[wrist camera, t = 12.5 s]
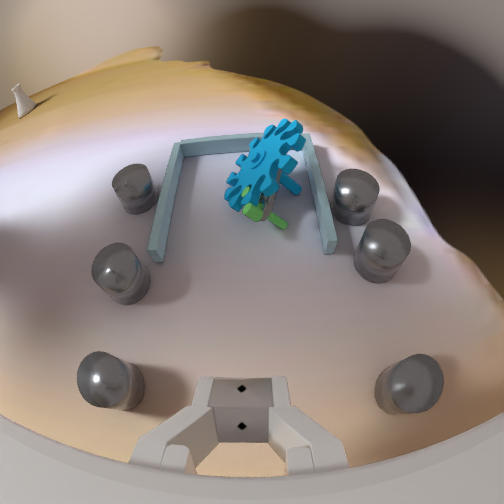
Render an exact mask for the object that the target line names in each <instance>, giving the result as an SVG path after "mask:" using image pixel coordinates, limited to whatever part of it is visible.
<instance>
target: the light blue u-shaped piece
mask: <svg viewBox="0 0 504 504" xmlns="http://www.w3.org/2000/svg"><path fill="white" fill-rule="evenodd" d="M263 135H264V133H250V134H236V135H223V136H213V137H203V138H195V139H187V140H181V142H178V143H174V146H173V149H172V152H171V156H170V159H169V163H168V166H167V170H166V173H165V177H164V181H163V184H162V188H161V192H160V196H159V200H158V204H157V208H156V212H155V217H154V221H153V226H152V230H151V235H150V239H149V244H148V249H147V251H148V252H149V254H150V255H151V257H152V258H153V260H154V261H155V262H163V261H164V255H165V249H166V243H167V237H168V231H169V226H170V220H171V215H172V210H173V205H174V200H175V195H176V190H177V185H178V181H179V176H180V172H181V167H182V163H183V159H184V157H189V156H198V155H207V154H218V153H230V152H244V151H250V147H249V144H250V142H251V141H252V140H254V139H255V138H256V137H258V138H259V139H260V140H261V139H262V137H263ZM301 135H302V136H303V137H304V138H305V139H306V142H305V145H304V147H303V148H302V150H303V154H304V159H305V163H306V167H307V171H308V176H309V180H310V184H311V189H312V194H313V198H314V203H315V208H316V213H317V218H318V223H319V228H320V233H321V238H322V244H323V249H324V254H333V253H334V250H335V247H336V244H337V241H338V240H337V235H336V231H335V226H334V222H333V218H332V214H331V210H330V205H329V201H328V197H327V194H326V190H325V186H324V182H323V178H322V175H321V171H320V167H319V164H318V160H317V157H316V153H315V150H314V147H313V143H312V140H311V137H310V134H303V133H301ZM292 149H293V148H292Z"/></svg>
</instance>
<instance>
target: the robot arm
mask: <svg viewBox="0 0 504 504" xmlns="http://www.w3.org/2000/svg"><path fill="white" fill-rule="evenodd" d="M218 442H228V443H237V442H246V443H268V444H269V445H270V446H271V447H272V449H273V450H274V451H275V452H276V453H277V454H278V456H279V457H280V458H281V459H282V460H283V461H284V462H285V472H284V476H277V477H222V476H206V475H197V472H196V469H195V468H196V467H197V466H198V465H199V464H200V463H201V462H202V461H203V460H204V459H205V458H206V457H207V456H208V454H209V453H210V452H211V451H212V450H213V449H214V448H215V447H216V446H217V445H218V444H219V443H218ZM0 504H504V412H502V413H500V414H499V415H497V416H495V417H493V418H491V419H489V420H488V421H486V422H484V423H482V424H480V425H478V426H476V427H474V428H472V429H469V430H467V431H465V432H463V433H461V434H458V435H456V436H454V437H451V438H449V439H446V440H444V441H441V442H439V443H436V444H434V445H431V446H428V447H425V448H423V449H420V450H417V451H414V452H411V453H407V454H404V455H401V456H397V457H394V458H390V459H387V460H383V461H379V462H375V463H370V464H366V465H361V466H357V467H352V468H350V467H349V464H348V461H347V457H346V454H345V451H344V447H343V444H342V441H341V440H340V439H338V438H337V437H335V436H334V435H333V434H331V433H330V432H329V431H327V430H326V429H325V428H323V427H322V426H321V425H319V424H318V423H317V422H315V421H314V420H313V419H311V418H310V417H309V416H307V415H306V414H305V413H304V412H302V411H301V410H300V409H298V408H297V407H296V406H291V402H290V396H289V390H288V383H287V377H286V376H280V377H271V378H223V377H215V378H214V377H200V378H199V380H198V384H197V387H196V391H195V394H194V398H193V402H192V405H191V406H186V407H185V408H183V409H182V410H180V411H179V412H177V413H176V414H175V415H173V416H172V417H170V418H169V419H167V420H166V421H164V422H163V423H161V424H160V425H158V426H157V427H155V428H154V429H152V430H151V431H149V432H148V433H146V434H144V435H143V436H141V437H140V438H139V439H138V441H137V444H136V446H135V448H134V451H133V453H132V456H131V458H130V460H129V463H124V462H120V461H116V460H113V459H109V458H105V457H102V456H98V455H95V454H92V453H89V452H86V451H83V450H80V449H77V448H74V447H71V446H68V445H66V444H63V443H60V442H58V441H55V440H53V439H50V438H48V437H46V436H43V435H41V434H39V433H36V432H34V431H32V430H30V429H28V428H26V427H24V426H22V425H20V424H18V423H16V422H14V421H12V420H10V419H8V418H6V417H5V416H3V415H1V414H0Z"/></svg>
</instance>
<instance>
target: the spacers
mask: <svg viewBox="0 0 504 504" xmlns="http://www.w3.org/2000/svg"><path fill="white" fill-rule="evenodd" d="M112 187H113V189H114V191H115V192H116V194H117V196H118V198H119V199H120V201H121V203H122V205H123V206H124V208H125V210H126V211H127V212H128V213H130V214H140V213H143V212H145V211H147V210H149V209H150V208H151V207H152V206H153V205H154V204H155V203H156V201H157V198H158V193H157V190H156V188H155V185H154V183H153V181H152V178H151V176H150V174H149V171H148V169H147V167H146V166H145V165H143V164H132V165H129V166H127V167H125V168H123V169H122V170H120V171H119V172H118V173H117V174H116V175H115V177H114V178H113V181H112ZM378 194H379V184H378V182H377V181H376V179H375V178H374V177H373V176H371V175H370V174H369V173H367V172H365V171H362V170H358V169H347V170H344V171H342V172H340V173H339V174H338V176H337V179H336V184H335V189H334V193H333V198H332V202H331V211H332V213H333V215H334V216H335V217H336V218H337V219H338V220H339V221H340V222H342V223H344V224H347V225H352V226H358V225H362V224H364V223H365V222H366V221H367V220H368V219H369V217H370V214H371V212H372V209H373V207H374V204H375V201H376V199H377V196H378ZM410 249H411V243H410V239H409V236H408V234H407V233H406V231H405V230H404V229H403V228H402V227H401V226H400V225H398V224H397V223H395V222H393V221H390V220H386V219H378V220H374V221H372V222H371V223H369V224H368V225H367V227H366V229H365V231H364V234H363V236H362V238H361V241H360V243H359V245H358V248H357V250H356V252H355V255H354V265H355V267H356V270H357V271H358V273H359V274H360V275H361V276H362V277H363V278H364V279H366V280H368V281H370V282H373V283H383V282H386V281H388V280H390V279H391V278H392V277H393V275H394V274H395V273H396V271H397V270H398V268H399V267H400V266H401V264H402V263H403V261H404V260H405V259H406V257H407V256H408V254H409V252H410ZM92 277H93V279H94V281H95V282H96V283H97V284H98V285H99V286H100V287H101V288H102V289H103V290H104V291H106V292H107V293H108V294H109V295H110V296H111V297H112V298H113V299H114V300H116V301H117V302H118V303H120V304H123V305H129V304H133V303H136V302H137V301H139V300H140V299H141V298H142V297H143V296H144V295H145V294H146V292H147V290H148V288H149V285H150V276H149V273H148V271H147V270H146V268H145V267H144V266H143V264H142V263H141V262H140V260H139V259H138V258H137V256H136V255H135V253H134V252H133V251H132V249H131V248H130V247H129V246H128V245H126V244H123V243H114V244H111V245H108V246H107V247H105V248H104V249H102V250H101V251H100V252H99V253H98V255H97V256H96V258H95V259H94V262H93V265H92ZM443 382H444V380H443V373H442V370H441V367H440V366H439V364H438V363H437V361H436V360H434V359H433V358H432V357H430V356H428V355H425V354H416V355H412V356H410V357H408V358H406V359H404V360H402V361H400V362H398V363H396V364H394V365H392V366H390V367H388V368H387V369H385V370H384V371H383V372H382V373H381V374H380V376H379V377H378V379H377V382H376V385H375V398H376V401H377V404H378V405H379V407H380V408H381V409H382V410H383V411H385V412H386V413H389V414H394V415H396V414H411V413H420V412H424V411H426V410H428V409H430V408H431V407H432V406H433V405H434V404H435V403H436V402H437V401H438V399H439V397H440V395H441V393H442V389H443ZM77 384H78V388H79V391H80V393H81V395H82V396H83V398H84V399H85V400H86V401H87V402H88V403H90V404H91V405H93V406H96V407H103V408H110V409H118V410H129V409H132V408H134V407H135V406H137V405H138V404H139V403H140V401H141V400H142V398H143V395H144V389H145V385H144V380H143V377H142V375H141V373H140V372H139V370H138V369H137V368H136V367H135V366H133V365H132V364H130V363H127V362H125V361H123V360H121V359H119V358H117V357H114V356H112V355H110V354H108V353H106V352H100V351H98V352H93V353H91V354H89V355H87V356H86V357H85V358H84V359H83V361H82V362H81V364H80V366H79V368H78V372H77Z"/></svg>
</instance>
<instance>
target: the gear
mask: <svg viewBox="0 0 504 504" xmlns="http://www.w3.org/2000/svg"><path fill="white" fill-rule="evenodd" d="M302 132H303V126H302V125H301V124H300V123H299V122H298V121H297V120H295V121H293V122H292V123H291V122H290V121H288V120H287V119H282V120H281V122H280V123H279V125H278V126H277V127H275V126H274V125H270V126H268V127H267V128H266V129H265V131H264V135H263V137H262V139H261V140H260V139H259V138H258V137H256V138H255V139H254V140H252V141H251V142H250V144H249V147H250V152H249V155H248V157H246V156H245V155H244V154H242V155H241V156H240V157H239V158H238V160H237V161H236V165H238V166H239V167H241V170H240V172H239V173H238V174H236V173H234V172H232V173H231V174H230V176H229V177H228V179H227V182H226V183H228V184H229V185H231V186H232V187H233V188H232V187H229V188H228V189H227V190H226V192H225V195H224V199H225V200H227V201H228V202H229V206H230V207H231V208H233V209H234V210H236V211H238V212H239V211H240V210H241V209H242V207H243V205H244V206H245V207H244V208H243V211H242V213H243V214H244V215H245V216H247V217H249V218H250V219H252V220H253V221H255V222H258V221H259V220H260V221H264V220H266V219H268V220H269V221H271V222H272V223H274V224H275V225H277V226H278V227H280V228H281V229H285V228H286V227H287V225H288V223H287V222H286V221H284V220H283V219H281V218H280V217H279V216H277V215H276V214H274V213H273V212H272V208H273V204H274V200H275V196H276V192H277V191H278V189H279V183H281V184H282V185H283V186H284V187H286V188H287V189H288V190H290V191H291V192H292V193H293V194H295V195H298V194H299V193H300V192H301V190H302V187H301V186H300V185H299V184H297V183H296V182H295V181H294V180H292V179H291V178H290V177H289V176H287V175H286V174H290V173H291V172H292V171H293V169H294V168H295V167H296V165H297V164H298V162H297V161H296V160H295V159H294V158H292V157H291V156H290V155H286V154H287V152H288V151H289V150H290V149H292V148H293V149H294V150H295V151H300V150H302V148H303V147H304V145H305V142H306V139H305V138H304V137H303V136H302V135H301V133H302ZM282 171H283V172H282ZM284 172H285V173H286V174H285V173H284ZM261 192H262V193H261ZM260 194H261V195H260Z"/></svg>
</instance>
